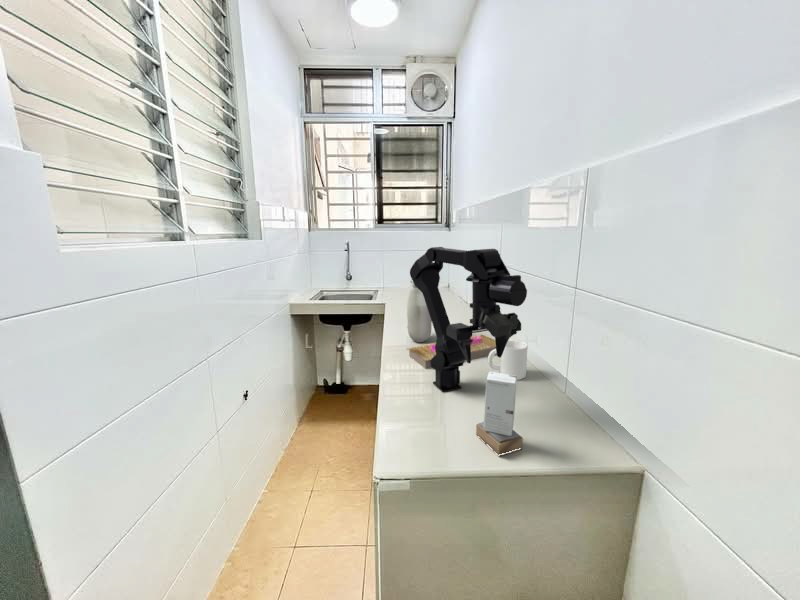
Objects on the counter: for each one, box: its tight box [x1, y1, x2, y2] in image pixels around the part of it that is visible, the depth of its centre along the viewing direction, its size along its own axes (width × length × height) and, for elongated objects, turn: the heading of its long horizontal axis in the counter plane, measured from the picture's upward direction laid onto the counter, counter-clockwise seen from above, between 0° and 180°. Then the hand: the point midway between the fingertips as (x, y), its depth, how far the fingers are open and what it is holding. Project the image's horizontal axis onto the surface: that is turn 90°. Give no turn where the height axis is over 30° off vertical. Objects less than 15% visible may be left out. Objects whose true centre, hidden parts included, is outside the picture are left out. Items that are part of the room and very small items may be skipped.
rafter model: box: [406, 334, 497, 370], centre depth 124 cm, size 35×14×6 cm, turn 114°
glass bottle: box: [406, 278, 433, 343], centre depth 137 cm, size 10×10×28 cm
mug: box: [487, 339, 528, 381], centre depth 105 cm, size 12×8×10 cm
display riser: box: [475, 421, 524, 455], centre depth 72 cm, size 6×8×3 cm
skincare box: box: [483, 371, 518, 436], centre depth 71 cm, size 6×4×12 cm
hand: (484, 360), depth 84 cm, fingers open, 9 cm apart
